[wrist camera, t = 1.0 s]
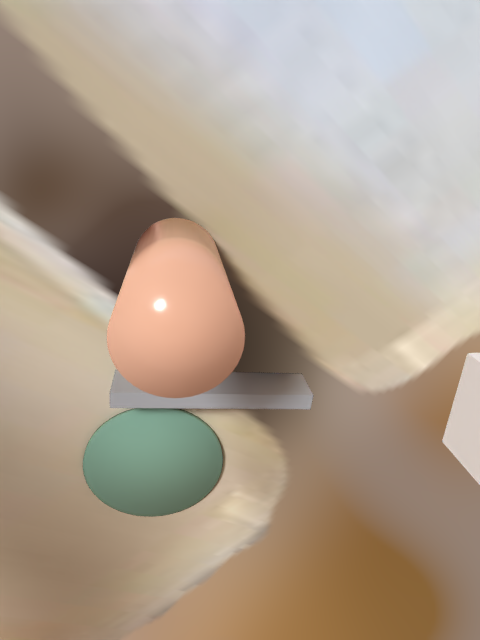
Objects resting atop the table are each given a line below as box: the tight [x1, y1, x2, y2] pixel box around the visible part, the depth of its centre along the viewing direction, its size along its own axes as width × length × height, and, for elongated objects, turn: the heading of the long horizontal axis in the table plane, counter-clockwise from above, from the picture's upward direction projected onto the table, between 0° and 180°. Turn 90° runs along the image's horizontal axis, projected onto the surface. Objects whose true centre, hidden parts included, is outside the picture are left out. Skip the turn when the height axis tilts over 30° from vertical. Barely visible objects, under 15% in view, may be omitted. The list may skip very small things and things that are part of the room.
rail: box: [110, 370, 313, 409], centre depth 31 cm, size 14×1×3 cm, turn 84°
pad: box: [83, 408, 223, 516], centre depth 34 cm, size 11×11×1 cm
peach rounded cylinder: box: [107, 218, 245, 398], centre depth 23 cm, size 6×6×12 cm
